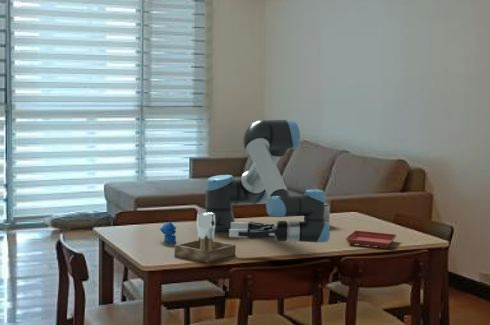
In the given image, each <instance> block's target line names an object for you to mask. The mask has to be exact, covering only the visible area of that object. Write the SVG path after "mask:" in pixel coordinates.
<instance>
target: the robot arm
mask: <svg viewBox="0 0 490 325" xmlns="http://www.w3.org/2000/svg"><path fill="white" fill-rule="evenodd" d="M299 128H300V127H299V125H298V122H296V121H295V120H292V119H291V120H290V119H258V120H256V121H253V122H252V123H251V124H249V126H248V127H247V128H246V130H245V132H244V134H243V139H242V140H243V141H242V143H243V148H244V150H245V153H246V155H247V156H249V157H250V158H251V160H252V165H250V168H249V170H246V171H245V172H244V173H242V175H241V177H235V178H234V176H233V174H232V175H231V174H219V175H214V176H210V177H209V178H208V179H207V180H206V185H205V186H206V187H205V212H210V213H215V233H216V232H218V233H219V232H221V233H223V232H224V233H225V232H229V233H228V236H229V238H248V239H249V240H253V239H256V240H257V239H268V238H271V239H274V238H275V237H276V241H277V242H286V241H288V242H293V244H297V242H303V243H327V242H329V240H330V237H331V236H330V233H331V232H330V230H331V228H330V222H329V223H328V222H325V220H324V212H325V204H326V192H325V191H324V190H322V189H317V188H316V189H315V188H314V189H313V188H312V189H311V188H310V189H306V190H305V191H304V194H303V195H290V193H289V191H288V188H287V186H286V184H285V182H284V178H282V176H281V172H280V171H279V168H278V166H277V163H278V162H279V160H280V159H281V158H282V157H284V156H286V155H287V154H288V152H289V151H290V150H295V149H298V148H299V145H300V142H301V134H300V133H301V132H300V129H299ZM267 197H268V198H267ZM266 198H267V199H266ZM265 200H266V202H265V207H266V208H265V209H266V213H267V215H268V216H269V217H271V218H288V217H290V218H291V217H303V221H299V220H289V221H287V220H277V221H276V226H275V224H274V223H266V222H265V223H263V222H256V221H249V222H238V221H237V222H235V217H234V214H233V213H234V212H233V205H235V206H236V205H257V204H261V203H264V201H265Z"/></svg>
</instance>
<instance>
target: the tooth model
mask: <svg viewBox="0 0 490 325" xmlns="http://www.w3.org/2000/svg"><path fill="white" fill-rule="evenodd" d="M196 216H197V217H196V235H197V240H198V249H200V250H205V251H210V250H213V241H214V236H215V233H216V232H215V213H210V212H206V211H204V212H203V211H202V212H198V213H197V215H196Z"/></svg>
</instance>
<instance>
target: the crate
mask: <svg viewBox="0 0 490 325" xmlns="http://www.w3.org/2000/svg"><path fill="white" fill-rule="evenodd" d="M234 255H235V256H236V244H233V243H227V242H222V241H217V240H213V250H210V251H205V250H200V249H198V239H196V240H191V241H187V242H183V243H179V244H178V243H177V244H174V257H178V256H179V258H184V259H188V260H194V261H198V262H202V263H207V264H208V263H212V262H216V261H220V260H224V259H227V257H228V258H231V257H235V256H234Z"/></svg>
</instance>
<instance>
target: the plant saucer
mask: <svg viewBox="0 0 490 325" xmlns="http://www.w3.org/2000/svg"><path fill="white" fill-rule="evenodd" d="M397 237H398V236H397V234H394V233H386V232H385V233H384V232H376V231H374V232H373V231H365V230H354V231H352V232H351V233H350V234H349V235H348V236H346V237H345V240H346V242H348V244H349V245H350V244H359V245H369V246H377V247H383V248H382V249H386V248H388V247H389V246H390V245H391V243H392V242H394V240H395V239H396V238H397ZM377 247H376V248H377Z"/></svg>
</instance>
